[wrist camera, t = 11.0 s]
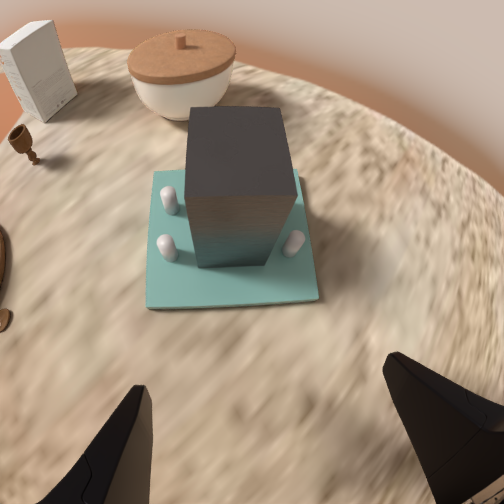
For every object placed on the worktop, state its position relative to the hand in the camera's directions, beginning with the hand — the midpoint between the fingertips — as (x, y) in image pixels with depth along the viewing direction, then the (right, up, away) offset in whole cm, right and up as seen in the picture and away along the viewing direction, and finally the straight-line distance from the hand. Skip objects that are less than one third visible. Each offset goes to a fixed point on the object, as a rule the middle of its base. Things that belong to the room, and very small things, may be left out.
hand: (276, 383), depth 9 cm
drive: (-3, +6, +13) cm, 15 cm away
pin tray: (-3, +6, +14) cm, 16 cm away
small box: (-29, +25, +19) cm, 43 cm away
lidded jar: (-8, +21, +20) cm, 30 cm away
